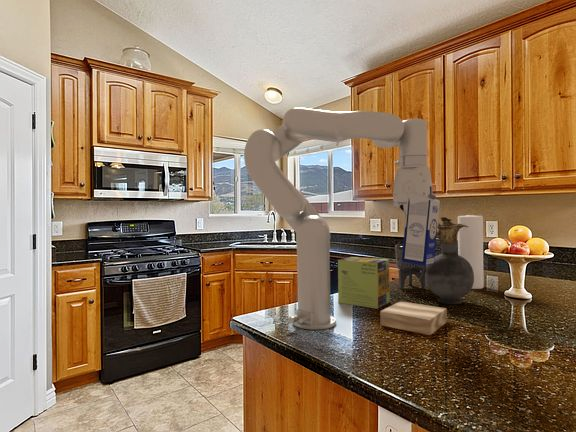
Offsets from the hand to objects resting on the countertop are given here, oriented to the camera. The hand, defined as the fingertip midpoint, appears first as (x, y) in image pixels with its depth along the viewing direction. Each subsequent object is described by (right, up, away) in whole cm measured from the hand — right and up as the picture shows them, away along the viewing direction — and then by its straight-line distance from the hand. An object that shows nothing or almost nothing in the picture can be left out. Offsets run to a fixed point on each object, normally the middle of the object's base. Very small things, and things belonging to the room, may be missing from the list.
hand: (412, 227), depth 104 cm
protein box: (-9, -28, +25) cm, 39 cm away
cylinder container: (+41, -27, +49) cm, 69 cm away
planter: (+16, -27, +49) cm, 58 cm away
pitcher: (+20, -27, +25) cm, 42 cm away
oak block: (0, -28, 0) cm, 28 cm away
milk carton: (+1, -10, -1) cm, 10 cm away
